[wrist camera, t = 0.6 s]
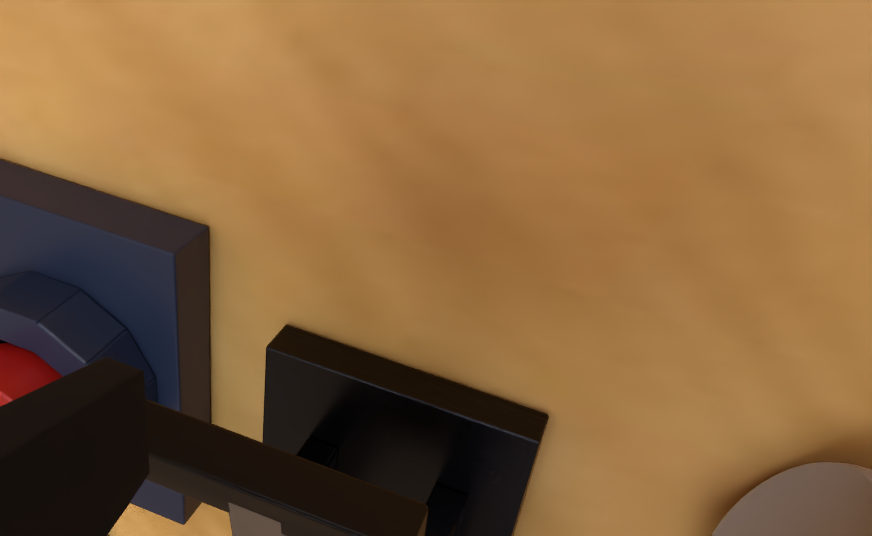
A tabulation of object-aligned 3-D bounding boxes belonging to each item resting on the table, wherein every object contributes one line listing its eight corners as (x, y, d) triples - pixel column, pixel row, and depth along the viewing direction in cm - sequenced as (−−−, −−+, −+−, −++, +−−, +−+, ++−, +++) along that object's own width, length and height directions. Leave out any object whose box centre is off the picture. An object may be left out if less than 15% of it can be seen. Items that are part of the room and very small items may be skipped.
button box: (211, 491, 29) (151, 567, 26) (22, 415, 31) (-53, 481, 28) (209, 225, 23) (131, 288, 20) (-26, 150, 25) (-128, 198, 22)
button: (91, 455, 25) (50, 496, 24) (-7, 416, 26) (-52, 453, 24) (80, 365, 23) (35, 403, 22) (-26, 325, 24) (-76, 360, 22)
